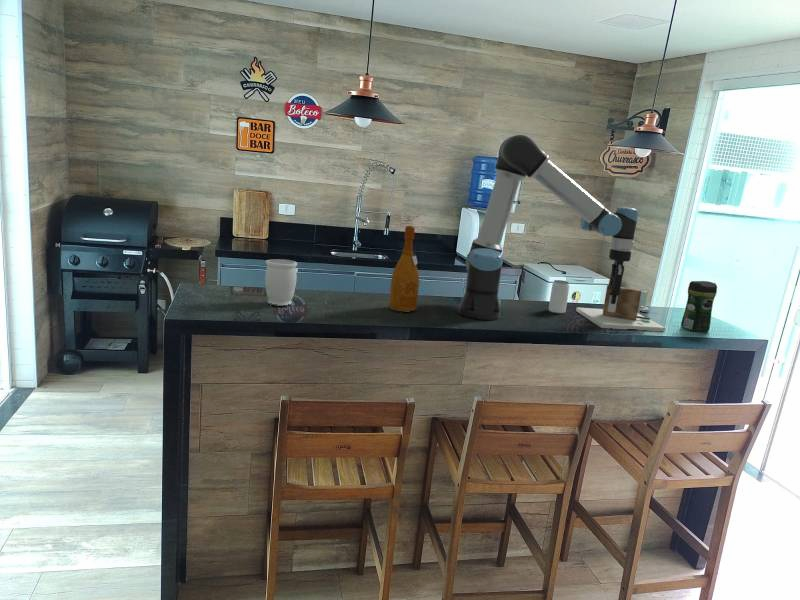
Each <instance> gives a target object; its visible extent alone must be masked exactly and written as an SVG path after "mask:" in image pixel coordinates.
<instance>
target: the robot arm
mask: <svg viewBox="0 0 800 600" xmlns="http://www.w3.org/2000/svg"><path fill="white" fill-rule="evenodd" d="M497 156H498V157H497V160H496V164H495V167H494V171H495V173H496V177H495V181H494V184H493V187H492V190H491V194H490V198H489V201H488V205H487V208H486V210H485V214H484V217H483V221H482V224H481V226H480V230H479V233H478V237H477V238H474V239H473V240H472V243H471V247H470V249H469V252H468V254H467V255H466V259H465V267H466V270H467V275H466V276H467V277H466V284H465V292H464V294H463V296H462V298H461V301H460V303H459V306H458V312H459V313H460V314H459V313H458V314H459V315H461V314H462V315H461V316H463V315H464V316H463V317H465V316H467V317H466V318H469V317H471V319H474V318H476V319H475V320H483V321H486V320H487V321H492V320H493V321H495V320H498V319H500V318H501V314H502V312H501V311H502V310H501V306H500V301H499V289H500V281H501V273H502V267H503V263H504V262H503V254H502V253H503V247H502V245H501V243H502V239H503V235H504V233H505V229H506V227H507V223H508V220H509V217H510V214H511V210H512V208H513V204H514V202H515V198H516V195H517V192H518V188H519V185H520V182H521V181H523V180H524V179H526V176H527V178H530V179H531V178H534V179H535V180H536V181H537V182H538V183H539V184H541V185H543V187H544V188H546V189H547V190H548V191H549V192H551V193H552V194H553V195H554V196H555V197H556V198H558V199H559V200H560V201H561V202H562V203H563V204H565V205H566V206H567V207H569V208H570V209H571V210H572V211H573V212H575V213H576V214H577V215H579V216H580V217H581V219H580V229H582V230H584V231H588V232H597V233H598V234H601V235H602V236H604V237H611V242H610V249H609V253H608V254H609V255H608V258H609V259H610V260H611V261H614V262H613V263H611V273H610V279H609V284H608V285H610V286H612V290H611V293H609V295H610V298H609V304H608V310H607V311H608V312H615V310H616V304H617V298H618V295H619V294H620V293H619V292H620V287H622V286H621V285H622V280H623V277H624V272H625V265H624V262H630V261H631V257H632V249H633V245H635V241H634V239H635V233H636V228H637V223H638V216H639V211H638V209H637V208H633V207H626V206H625V207H624V206H619V207H617V208H616V210H615V211H610V210H609V209H607V208H606V207H605V206H604V205H603V204H602V203H600V201H598V200H597V199H596V198H595V197H593V196H592V195H591V194H590V193H589V192H588V191H586V189H584V188H582V186H580V184H578V183H577V182H576V181H575V180H573V179H572V178H571V177H570V176H568V175H567V174H566V173H565V172H564V171H563V170H561V169H560V168H559V167H558V166H557V165H555V164H554V163H553V162H552V161H551V160H550V158H549V155H548V154H547V153H546V152H545V151H544V150H543V149H542V148H541V147H540V146H539V145H538V144H537V143H536V141H534V140H533V139H532V138H531V137H529V136H528V135H524V134H517V135H516V134H515V135H512V136H510V137H508V138H506V139H504V141H503V142H502V143H501V144H500V147H499V149H498V155H497Z"/></svg>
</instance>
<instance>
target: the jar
mask: <svg viewBox="0 0 800 600" xmlns="http://www.w3.org/2000/svg"><path fill="white" fill-rule="evenodd" d="M265 265H266V269H265V274H264V284H265V291H266V296H267V298H268V300H267V302H269V303H272V304H277V305H288V304H291V303H292V304H293V302H292V299H294V298H293V297H294V295H295V290H296V287H297V280H298V279H297V278H298V277H297V275H298V273H297V268H296V267H297V266H298V262H297V261H294V260H291V259H283V258H281V259H279V258H278V259H277V258H276V259H275V258H274V259H272V258H271V259H267V260H265Z"/></svg>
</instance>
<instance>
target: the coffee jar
mask: <svg viewBox="0 0 800 600" xmlns="http://www.w3.org/2000/svg"><path fill="white" fill-rule="evenodd" d="M717 292H718V286H717V284H716V283H715V282H711V281H707V280H691V281H690V282H689V284H688V288H687V300H686V303H685V304H686V305H685V308H684V312H683V316H682V319H681V323H680V327H681V328H682V329H683V328H684V329H683V330H685V329H686V331H692V332H696V333H702V332H708V331H710V328H711V323H712V322H711V320H712V313H713V312H712V311H713V306H714V301H715V297H716V296H717Z"/></svg>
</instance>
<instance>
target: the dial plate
mask: <svg viewBox="0 0 800 600" xmlns="http://www.w3.org/2000/svg"><path fill="white" fill-rule="evenodd" d="M575 311H576V312H577V313H579V315H582V316H583V317H584V318H586V319H587V320H589V321H590V322H592V323H594V324H595V325H596V326H598V327H599V328H601V329H611V328H612V329H613V330H627V329H638V330H637V331H643V330H652V331H651V332H659V331H665V332H666V327H665V326H663V325H661V324H659V323H657V322H655V321H653V320H652V319H650V320H647V319H640V318H636V320H634V319H628V318H621V317H614V316H608V315H603V308H595V307H594V308H590V307H578V306H577V307H576V309H575ZM637 316H641V317H645V316H644V315H642V314H641V313H637ZM653 330H654V331H653Z"/></svg>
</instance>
